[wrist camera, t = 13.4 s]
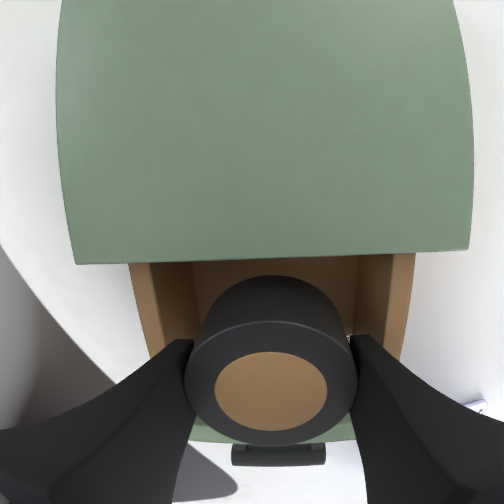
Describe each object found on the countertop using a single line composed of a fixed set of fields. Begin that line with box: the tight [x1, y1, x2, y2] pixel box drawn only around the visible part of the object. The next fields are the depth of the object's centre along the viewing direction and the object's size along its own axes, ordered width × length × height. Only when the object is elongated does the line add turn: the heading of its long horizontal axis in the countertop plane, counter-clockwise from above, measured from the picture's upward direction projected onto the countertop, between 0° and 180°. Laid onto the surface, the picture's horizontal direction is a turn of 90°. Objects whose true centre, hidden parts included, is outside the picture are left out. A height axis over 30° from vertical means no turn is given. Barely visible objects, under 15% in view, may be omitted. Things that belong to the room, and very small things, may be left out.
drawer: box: [128, 253, 416, 467], centre depth 13 cm, size 17×10×6 cm, turn 4°
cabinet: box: [56, 0, 474, 265], centre depth 10 cm, size 14×12×8 cm
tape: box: [184, 275, 359, 446], centre depth 10 cm, size 5×5×3 cm
